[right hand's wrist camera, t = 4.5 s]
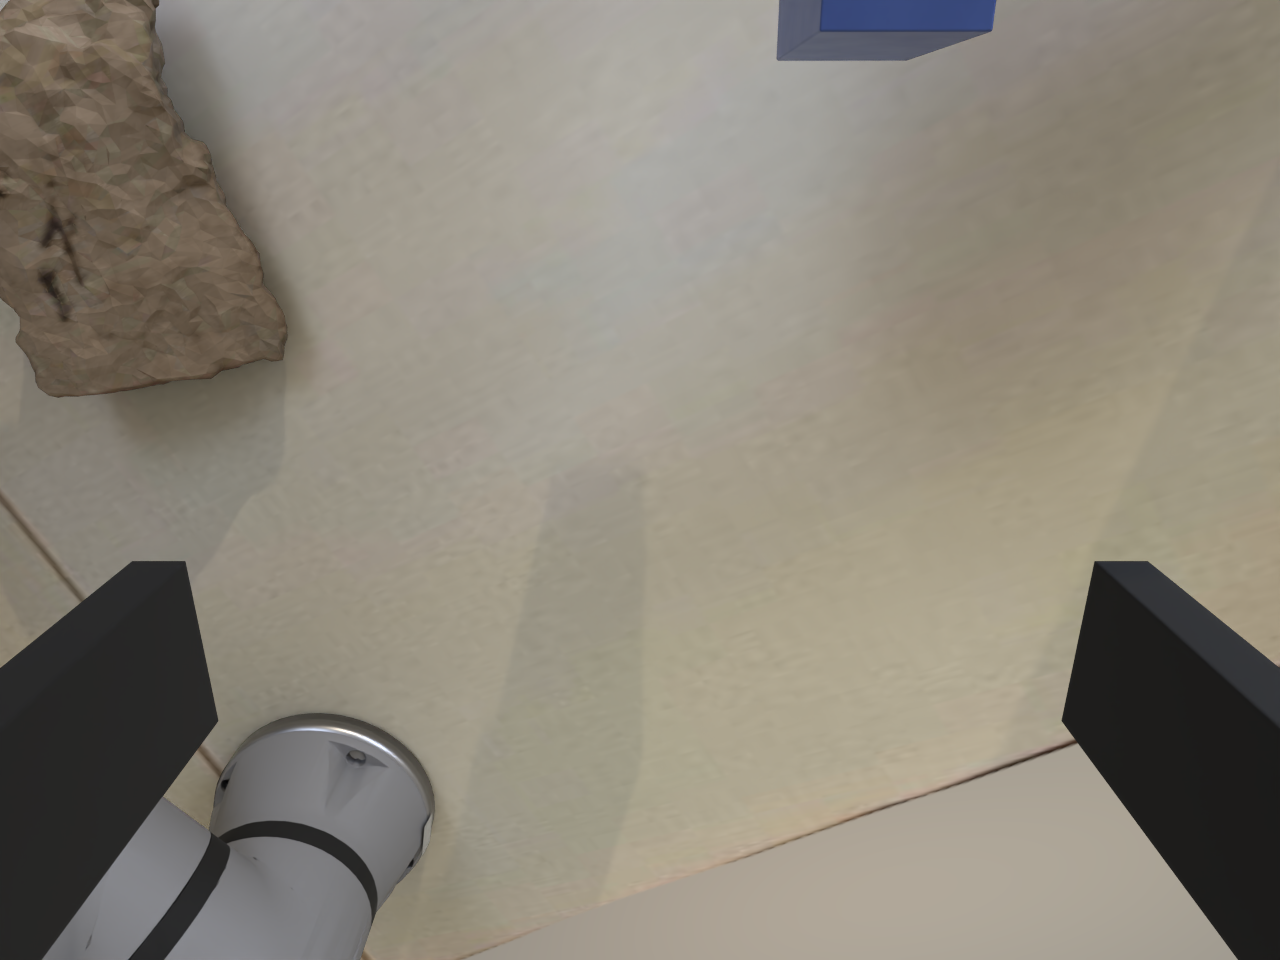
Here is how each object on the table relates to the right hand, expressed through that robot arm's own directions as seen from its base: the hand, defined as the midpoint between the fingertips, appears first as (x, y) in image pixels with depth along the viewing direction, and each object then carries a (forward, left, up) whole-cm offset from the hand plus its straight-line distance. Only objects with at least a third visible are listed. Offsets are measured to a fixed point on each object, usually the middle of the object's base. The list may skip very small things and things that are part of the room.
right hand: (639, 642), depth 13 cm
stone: (-27, +11, -41) cm, 50 cm away
